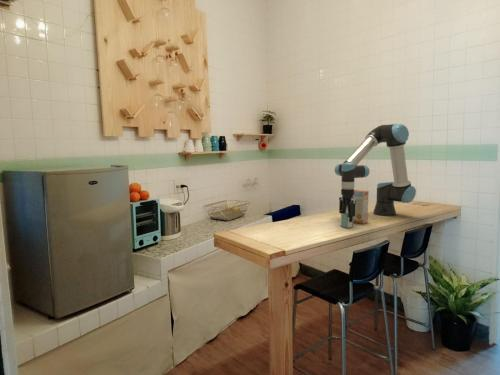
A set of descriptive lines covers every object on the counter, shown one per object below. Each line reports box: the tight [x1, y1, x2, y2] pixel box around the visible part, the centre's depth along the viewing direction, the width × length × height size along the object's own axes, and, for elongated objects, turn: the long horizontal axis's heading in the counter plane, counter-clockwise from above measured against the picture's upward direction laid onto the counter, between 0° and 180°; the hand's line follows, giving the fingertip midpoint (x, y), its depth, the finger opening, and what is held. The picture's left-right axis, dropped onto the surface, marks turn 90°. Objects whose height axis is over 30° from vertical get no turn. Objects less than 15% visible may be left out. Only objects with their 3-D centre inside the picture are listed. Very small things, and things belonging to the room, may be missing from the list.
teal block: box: [340, 213, 354, 229], centre depth 204 cm, size 5×5×8 cm
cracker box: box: [346, 189, 370, 225], centre depth 217 cm, size 14×6×21 cm, turn 41°
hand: (346, 226), depth 205 cm, fingers closed on teal block, 5 cm apart
